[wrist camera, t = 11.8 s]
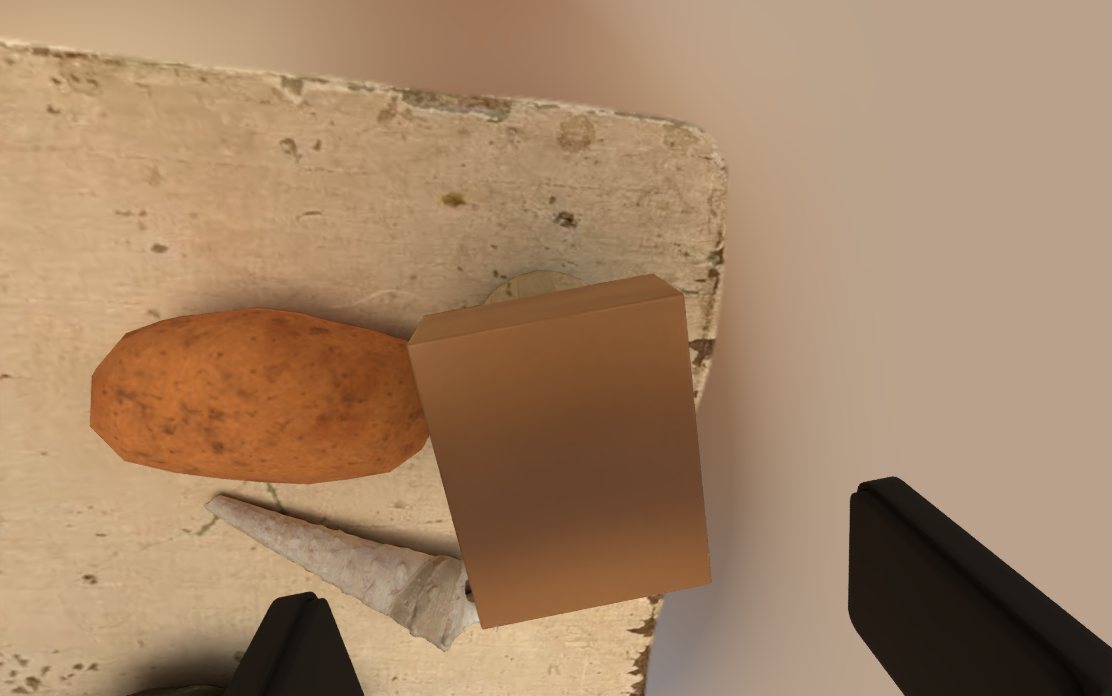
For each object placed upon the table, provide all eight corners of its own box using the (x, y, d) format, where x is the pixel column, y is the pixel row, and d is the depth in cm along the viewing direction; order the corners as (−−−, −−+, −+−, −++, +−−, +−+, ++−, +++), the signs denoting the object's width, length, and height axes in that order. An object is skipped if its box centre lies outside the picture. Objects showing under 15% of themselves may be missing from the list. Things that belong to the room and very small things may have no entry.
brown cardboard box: (423, 315, 16) (404, 345, 13) (653, 273, 16) (684, 293, 13) (485, 562, 19) (481, 630, 16) (682, 523, 19) (712, 584, 16)
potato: (161, 278, 24) (46, 293, 17) (453, 327, 27) (455, 356, 20) (147, 433, 25) (34, 505, 18) (429, 464, 28) (424, 537, 21)
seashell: (493, 608, 31) (481, 687, 27) (213, 521, 29) (154, 593, 25) (520, 560, 29) (511, 636, 25) (222, 463, 27) (161, 530, 23)
